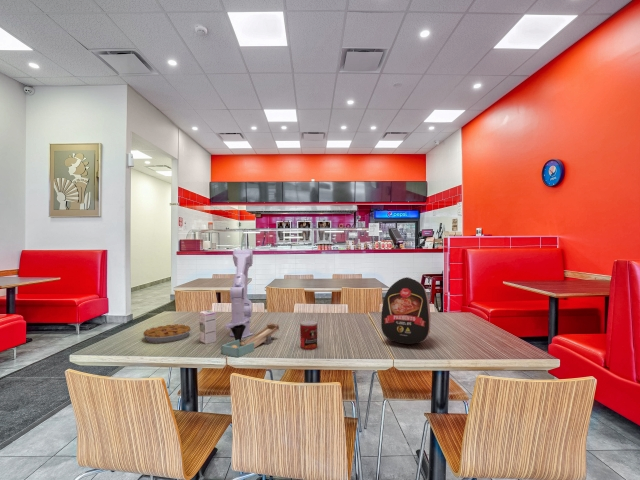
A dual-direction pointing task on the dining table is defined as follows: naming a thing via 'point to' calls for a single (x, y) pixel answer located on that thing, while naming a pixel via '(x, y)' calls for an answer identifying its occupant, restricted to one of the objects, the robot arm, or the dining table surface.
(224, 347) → the teal u-shaped frame
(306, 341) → the canned food
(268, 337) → the fulcrum
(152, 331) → the pie
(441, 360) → the dining table surface
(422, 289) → the packaged food
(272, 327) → the lever
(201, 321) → the syrup box
